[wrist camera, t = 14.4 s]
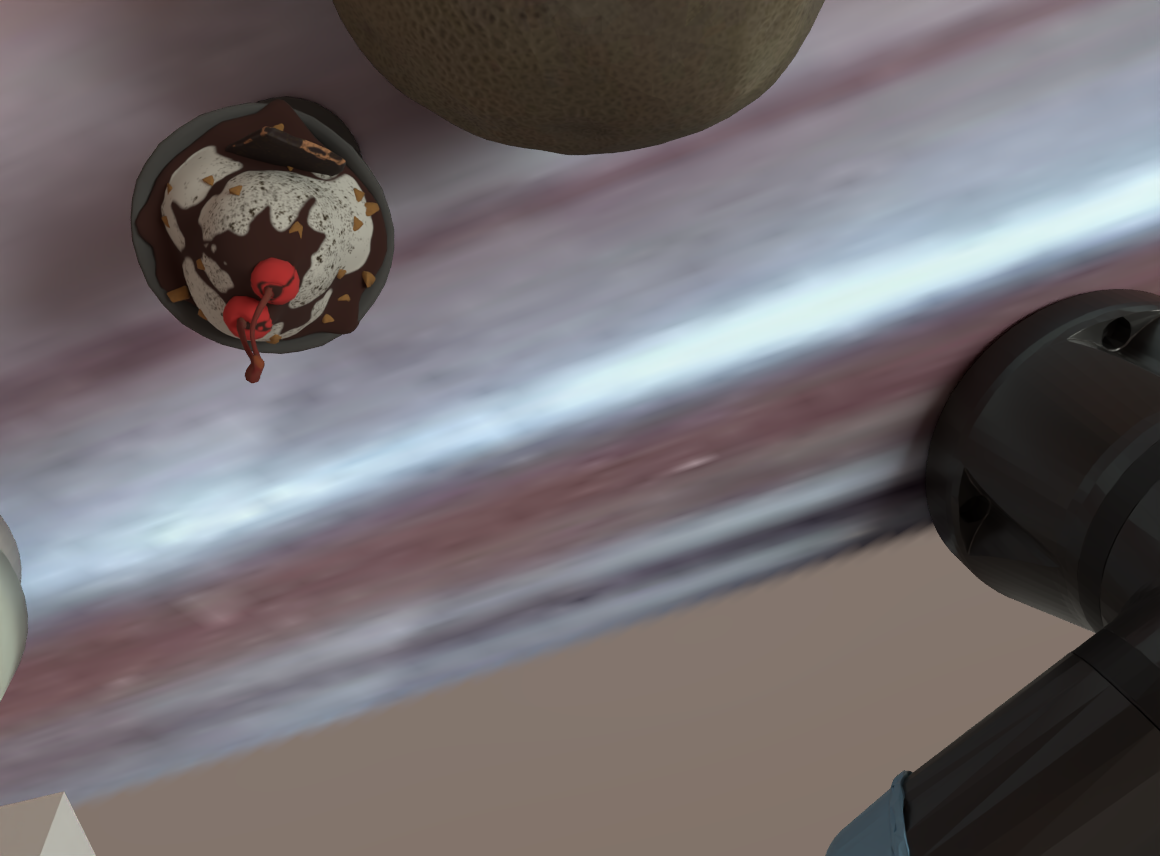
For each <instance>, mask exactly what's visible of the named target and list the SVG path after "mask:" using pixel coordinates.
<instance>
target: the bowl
mask: <svg viewBox="0 0 1160 856" xmlns="http://www.w3.org/2000/svg"><path fill="white" fill-rule="evenodd" d="M0 549H1V550H2V552H3V553H4V554H5V556H6V557H7V559H8V560H9V561H10V563H11V565H12V567H13V569H14V571H15V573H16V575H17V577H18V579H19V582H20V584H21V570H22V568H21V560H20V554H19V551H18V547H17V544H16V541H15V539H14V537H13V535H12V533H11V531H10V529H9V527H8V525H7V524H6V522H5V521H4V519H3V518H2V516H1V515H0Z"/></svg>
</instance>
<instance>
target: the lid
mask: <svg viewBox="0 0 1160 856" xmlns="http://www.w3.org/2000/svg"><path fill="white" fill-rule="evenodd" d="M27 633H28V613H27V607H26V601H25V596H24V593H23V590H22V587H21V584H20V582H19V579H18V577H17V575H16V573H15V571H14V569H13V567H12V565H11V563H10V561H9V560H8V559H7V557H6V556H5V554H4V553H3V552H2V550H1V549H0V701H1V699H2V697H3V695H4V693H5V691H6V689H7V687H8V686H9V684H10V682H11V680H12V678H13V676H14V674H15V672H16V670H17V668H18V666H19V664H20V661H21V658H22V655H23V652H24V650H25V645H26V639H27Z"/></svg>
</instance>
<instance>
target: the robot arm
mask: <svg viewBox="0 0 1160 856" xmlns="http://www.w3.org/2000/svg"><path fill="white" fill-rule="evenodd" d="M926 496H927V503H928V507H929V511H930V515H931V518H932V521H933V523H934V526H935V528H936V530H937V532H938V534H939V536H940V537H941V539H942V540H943V542H944V543H945V545H946V546H947V547H948V548H949V550H950V551H951V552H952V553H953V554H954V555H955V556H956V557H957V558H958V559H959V560H960V561H961V562H962V563H963V564H964V565H965V566H966V567H967V568H968V569H969V570H970V571H971V572H972V573H973V574H974V575H975V576H977V577H978V578H979V579H980V580H981V581H983V582H984V583H985V584H986V585H988V586H990V587H991V588H993V589H994V590H996V591H997V592H999V593H1001V594H1003V595H1005V596H1007V597H1009V598H1012V599H1014V600H1017V601H1019V602H1021V603H1024V604H1027V605H1029V606H1031V607H1034V608H1036V609H1039V610H1041V611H1044V612H1046V613H1048V614H1051V615H1053V616H1056V617H1058V618H1061V619H1063V620H1065V621H1068V622H1070V623H1073V624H1075V625H1078V626H1080V627H1083V628H1085V629H1087V630H1090V631H1092V632H1095V633H1096V634H1095V635H1093V636H1092V637H1091V638H1089V639H1088V640H1087V641H1086V642H1084V643H1083V644H1082V645H1080V646H1079V647H1078V648H1076V649H1075V650H1074V651H1072V652H1071V653H1068V654H1067V655H1066V656H1064V657H1063V658H1062V659H1061V660H1059V661H1058V662H1057V663H1055V664H1054V665H1053V666H1051V667H1050V668H1049V669H1048V670H1046V671H1045V672H1044V673H1042V674H1041V675H1040V676H1038V677H1037V678H1036V679H1035V680H1033V681H1032V682H1031V683H1029V684H1028V685H1027V686H1025V687H1024V688H1023V689H1022V690H1020V691H1019V692H1018V693H1016V694H1015V695H1014V696H1012V697H1011V698H1010V699H1008V700H1007V701H1006V702H1005V703H1003V704H1002V705H1001V706H999V707H998V708H997V709H995V710H994V711H993V712H992V713H990V714H989V715H988V716H986V717H985V718H984V719H983V720H981V721H980V722H979V723H977V724H976V725H975V726H973V727H972V728H971V729H969V730H968V731H967V732H965V733H964V734H963V735H962V736H960V737H959V738H958V739H956V740H955V741H954V742H952V743H951V744H950V745H949V746H947V747H946V748H945V749H943V750H942V751H941V752H939V753H938V754H937V755H935V756H934V757H933V758H932V759H930V760H929V761H928V762H927V763H925V764H924V765H922V766H921V767H920V768H919V769H917V770H916V771H915V772H911V771H905V770H904V771H903V772H901V773H900V774H899V775H897V776H896V777H895V778H894V780H893V782H892V785H891V788H890V789H889V790H888V791H887V792H886V793H885V794H883V795H882V796H881V797H880V798H879V799H877V800H876V801H875V802H874V803H873V804H872V805H870V806H869V807H868V808H867V809H866V810H865V811H864V812H862V813H861V814H860V815H859V816H858V817H856V818H855V819H854V820H853V821H852V822H851V823H850V824H848V825H847V826H846V827H845V828H844V829H842V830H841V831H840V832H839V834H838V835H837V836H836V837H835V838H834V840H833V841H832V843H831V844H830V846H829V848H828V850H827V853H826V856H1160V296H1159V295H1156V294H1153V293H1148V292H1144V291H1138V290H1127V289H1113V290H1102V291H1095V292H1090V293H1085V294H1081V295H1078V296H1074V297H1071V298H1068V299H1065V300H1062V301H1060V302H1057V303H1055V304H1053V305H1050V306H1048V307H1046V308H1044V309H1042V310H1040V311H1038V312H1036V313H1035V314H1033V315H1031V316H1030V317H1028V318H1026V319H1025V320H1023V321H1022V322H1020V323H1019V324H1017V325H1016V326H1014V327H1013V328H1012V329H1010V330H1009V331H1008V332H1006V333H1005V334H1004V335H1003V336H1001V337H1000V338H999V339H998V340H997V341H996V342H994V343H993V344H992V345H991V346H990V347H989V348H988V349H987V350H986V351H985V352H984V353H983V354H982V355H981V356H980V357H979V358H978V360H977V361H976V362H975V363H974V364H973V365H972V366H971V368H970V369H969V370H968V371H967V373H966V374H965V375H964V377H963V378H962V379H961V381H960V382H959V384H958V385H957V387H956V388H955V390H954V391H953V393H952V395H951V396H950V398H949V400H948V402H947V404H946V405H945V407H944V409H943V412H942V414H941V416H940V418H939V421H938V423H937V426H936V428H935V431H934V434H933V437H932V440H931V444H930V448H929V453H928V459H927V466H926ZM0 856H96V855H95V853H94V851H93V849H92V847H91V845H90V843H89V841H88V839H87V837H86V835H85V833H84V831H83V829H82V827H81V825H80V823H79V821H78V819H77V817H76V815H75V813H74V811H73V808H72V806H71V804H70V802H69V800H68V798H67V796H66V794H65V792H60V793H56V794H52V795H47V796H43V797H39V798H35V799H30V800H26V801H22V802H18V803H14V804H9V805H5V806H1V807H0Z"/></svg>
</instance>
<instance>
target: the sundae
mask: <svg viewBox="0 0 1160 856" xmlns="http://www.w3.org/2000/svg"><path fill="white" fill-rule="evenodd" d="M131 231H132V241H133V245H134V248H135V252H136V255H137V259H138V262H139V265H140V267H141V269H142V272H143V274H144V276H145V279H146V281H147V283H148V286H149V287H150V288H151V289H152V291H153V292H154V293H155V295H156V296H157V297H158V299H159V300H160V301H161V303H162V304H163V305H164V306H165V307H166V308H167V309H168V310H169V311H170V312H171V313H172V314H173V315H174V316H175V317H176V318H177V319H178V320H179V321H180V322H181V323H182V324H184V325H185V326H187V327H189V328H190V329H192V330H194V331H195V332H197V333H199V334H200V335H202V336H204V337H206V338H209V339H211V340H213V341H215V342H218V343H220V344H222V345H226V346H230V347H234V348H238V349H242V350H245V351H246V353H247V355H248V356H249V358H250V360H251V364H250V365H249V367H248V368H247V370H246V373H245V377H246V380H247V381H249V382H250V383H255V382H258V381H259V379H260V375H261V373H262V370H263V368H264V361H263V360H262V359H261V357H260V354H259V352H261V353H277V354H284V353H291V352H299V351H304V350H308V349H311V348H315V347H319V346H323V345H325V344H326V343H328V342H330V341H332V340H333V339H335V338H337V337H339V336H341V335H342V334H348V333H351V332H353V331H354V330H355V329H356V328H357V326H358V324H359V322H360V320H361V319H362V318H363V317H364V315H365V314H366V313H367V311H368V310H369V309H370V307H371V306H372V305H373V304H374V302H375V301H376V299H377V297H378V296H379V294H380V292H381V291H382V289H383V287H384V285H385V283H386V280H387V277H388V274H389V271H390V268H391V264H392V258H393V252H394V227H393V223H392V218H391V214H390V210H389V207H388V205H387V202H386V199H385V196H384V193H383V190H382V188H381V186H380V185H379V183H378V182H377V180H376V178H375V177H374V175H373V174H372V172H371V171H370V169H369V167H368V166H367V165H366V164H365V162H364V161H363V160H362V157H361V154H360V151H359V147H358V144H357V142H356V141H355V139H354V137H353V136H352V134H351V133H350V131H349V130H348V128H347V127H346V126H345V125H344V123H343V122H342V121H341V120H340V119H339V118H338V117H336V116H335V115H334V114H332V113H331V112H330V111H329V110H327V109H325V108H323V107H322V106H320V105H318V104H317V103H314V102H311V101H307V100H304V99H299V98H293V97H278V98H271V99H267V100H263V101H259V102H257V103H246V104H240V105H235V106H230V107H225V108H222V109H219V110H215V111H212V112H209V113H205V114H202V115H200V116H198V117H197V118H195V119H193V120H192V121H190V122H188V123H187V124H185V125H183V126H182V127H180V128H178V129H177V130H176V131H175V132H173V133H172V134H171V135H170V136H168V137H167V138H166V139H165V140H163V141H162V142H161V143H160V144H159V145H158V146H157V148H156V149H155V150H154V152H153V153H152V155H151V156H150V157H149V159H148V160H147V162H146V163H145V165H144V167H143V169H142V171H141V173H140V175H139V176H138V178H137V180H136V185H135V189H134V193H133V197H132V207H131ZM252 351H253V353H252ZM253 354H254V355H253Z"/></svg>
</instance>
